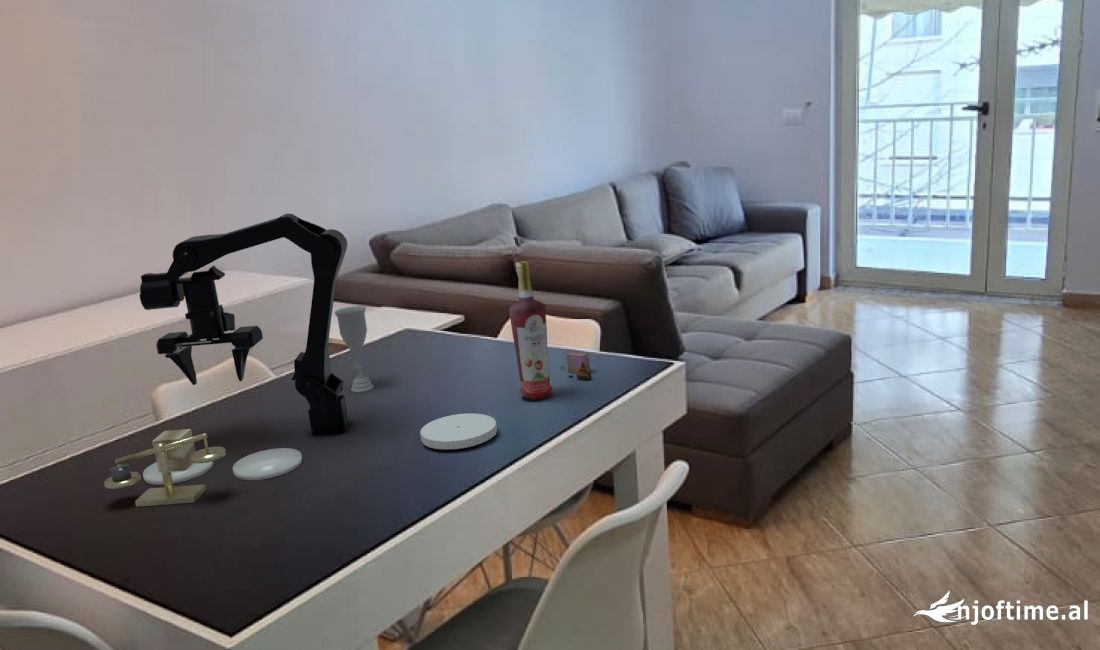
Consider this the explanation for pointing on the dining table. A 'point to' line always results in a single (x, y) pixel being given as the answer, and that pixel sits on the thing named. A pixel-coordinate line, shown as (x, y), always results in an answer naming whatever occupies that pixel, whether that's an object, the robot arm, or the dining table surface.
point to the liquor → (530, 338)
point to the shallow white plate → (267, 464)
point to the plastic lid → (458, 431)
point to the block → (176, 449)
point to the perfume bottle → (579, 365)
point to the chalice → (354, 340)
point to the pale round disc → (176, 473)
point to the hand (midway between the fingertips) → (218, 382)
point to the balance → (164, 474)
